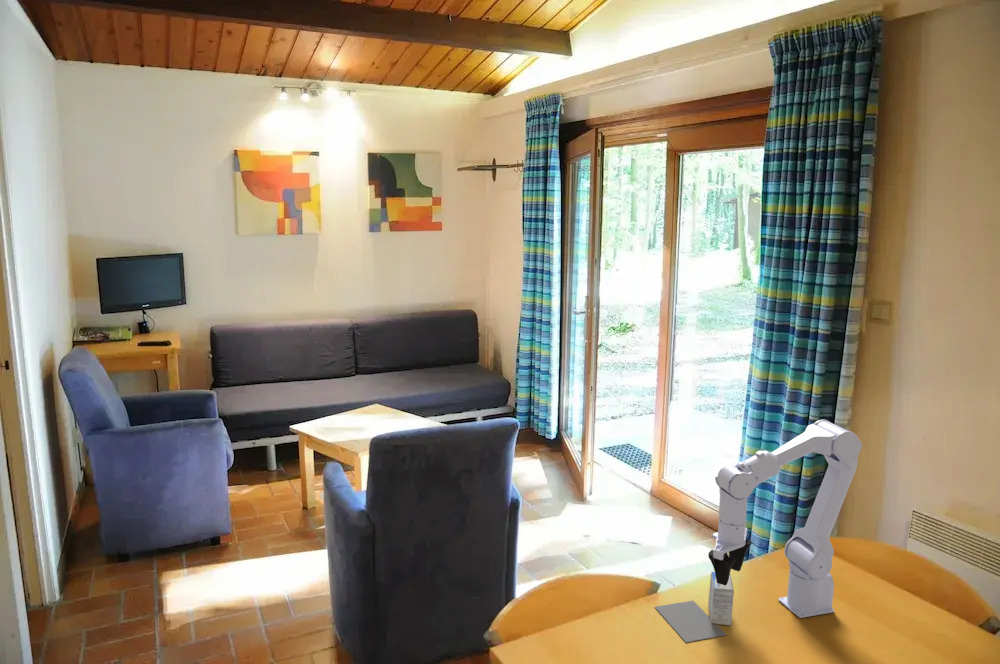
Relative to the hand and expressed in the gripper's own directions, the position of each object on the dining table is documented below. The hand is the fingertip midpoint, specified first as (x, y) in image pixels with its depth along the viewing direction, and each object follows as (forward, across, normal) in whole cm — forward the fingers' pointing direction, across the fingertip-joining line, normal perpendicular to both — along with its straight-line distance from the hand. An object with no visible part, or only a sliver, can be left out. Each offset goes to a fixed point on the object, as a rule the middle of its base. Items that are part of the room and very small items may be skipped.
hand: (728, 576), depth 164 cm
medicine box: (+10, +1, -2) cm, 10 cm away
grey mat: (+10, +7, -6) cm, 13 cm away
